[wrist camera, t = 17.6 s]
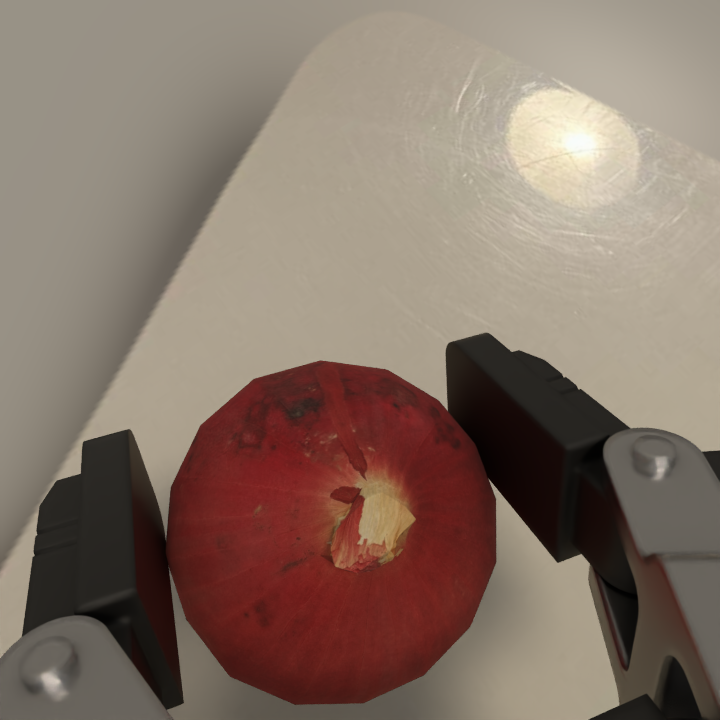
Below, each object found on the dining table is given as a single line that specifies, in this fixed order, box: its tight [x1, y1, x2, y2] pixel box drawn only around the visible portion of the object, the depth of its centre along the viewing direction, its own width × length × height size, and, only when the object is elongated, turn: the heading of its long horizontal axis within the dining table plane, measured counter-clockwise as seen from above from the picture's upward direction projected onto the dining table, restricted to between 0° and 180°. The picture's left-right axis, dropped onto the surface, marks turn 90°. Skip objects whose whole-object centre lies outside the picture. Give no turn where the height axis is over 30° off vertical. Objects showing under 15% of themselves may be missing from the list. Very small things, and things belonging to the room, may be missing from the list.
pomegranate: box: [165, 361, 496, 705], centre depth 11 cm, size 6×6×8 cm
